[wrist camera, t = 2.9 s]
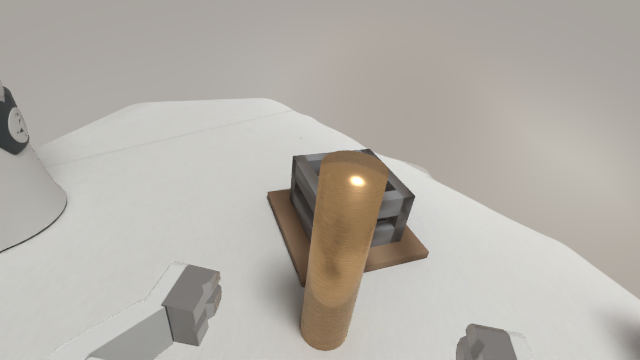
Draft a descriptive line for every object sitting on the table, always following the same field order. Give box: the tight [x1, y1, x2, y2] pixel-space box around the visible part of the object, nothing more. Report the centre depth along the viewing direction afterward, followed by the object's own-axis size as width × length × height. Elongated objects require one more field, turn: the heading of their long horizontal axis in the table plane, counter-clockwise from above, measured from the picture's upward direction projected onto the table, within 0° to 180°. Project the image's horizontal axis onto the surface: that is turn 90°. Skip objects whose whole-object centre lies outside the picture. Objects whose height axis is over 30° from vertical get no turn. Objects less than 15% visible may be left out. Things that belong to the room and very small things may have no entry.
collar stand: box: [268, 149, 429, 287], centre depth 42 cm, size 16×16×8 cm
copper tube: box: [300, 151, 389, 351], centre depth 27 cm, size 4×4×18 cm
